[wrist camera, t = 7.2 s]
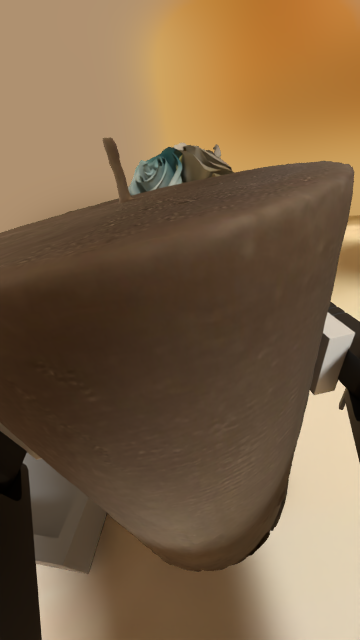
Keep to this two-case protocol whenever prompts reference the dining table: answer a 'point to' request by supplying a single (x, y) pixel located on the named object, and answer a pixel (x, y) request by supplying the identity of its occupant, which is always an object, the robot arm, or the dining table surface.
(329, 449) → the dining table surface
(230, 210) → the pillar candle
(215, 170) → the flower arrangement
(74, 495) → the tray
